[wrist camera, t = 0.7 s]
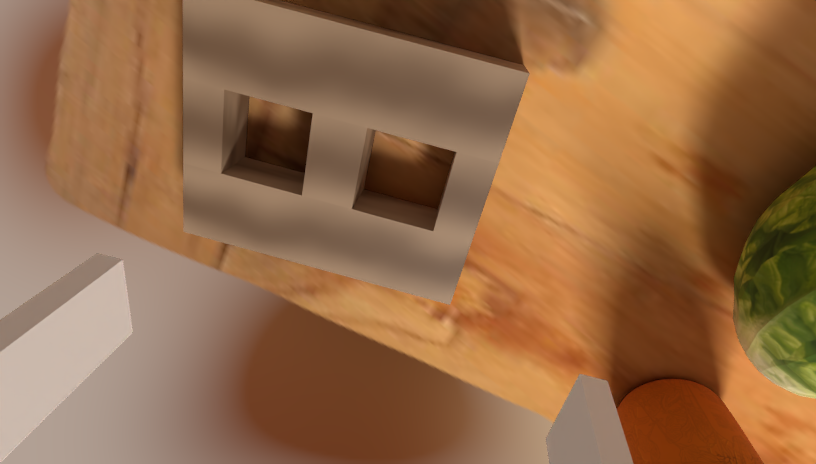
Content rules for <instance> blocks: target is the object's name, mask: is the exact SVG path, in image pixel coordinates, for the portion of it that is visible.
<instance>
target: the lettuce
mask: <svg viewBox="0 0 816 464" xmlns="http://www.w3.org/2000/svg"><path fill="white" fill-rule="evenodd" d="M733 320H734V325H735V329H736V333H737V336H738V339H739V342H740V344H741V346H742V348H743V349H744V351H745V353H746V355H747V357H748V358H749V360H750V361H751V362H752V363H753V365H754V366H755V367H756V368H757V370H758V371H759V372H761V373H762V374H763V375H764V376H765V377H766V378H768V379H769V380H770V381H772V382H773V383H774V384H776V385H778V386H780V387H782V388H784V389H786V390H788V391H790V392H792V393H794V394H797V395H799V396H804V397H810V398H815V399H816V166H815V167H813V168H812V169H811V170H810V171H809V172H808V173H806V174H805V175H804V176H803V177H802V178H800V179H799V180H798V181H797V182H796V183H794V184H793V185H792V186H791V187H790V188H788V189H787V190H786V191H785V192H783V193H782V194H781V195H780V196H779V197H777V198H776V199H775V200H774V201H773V202H772V203H771V205H770V206H769V207H768V208H767V209H766V210H765V212H764V213H763V214H762V215H761V216H760V217H759V218H758V220H757V221H756V223H755V225H754V227H753V229H752V231H751V233H750V235H749V237H748V238H747V240H746V243H745V245H744V248H743V251H742V254H741V257H740V260H739V263H738V266H737V269H736V273H735V276H734V309H733Z"/></svg>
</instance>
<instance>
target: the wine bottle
mask: <svg viewBox="0 0 816 464" xmlns="http://www.w3.org/2000/svg"><path fill="white" fill-rule="evenodd" d="M617 413H618V416H619V419H620V422H621V425H622V429H623V432H624V435H625V438H626V441H627V445H628V448H629V451H630V454H631V457H632V460H633V464H764V463H763V462H762V460H761V459H760V457H759V455H758V454H757V452H756V451H755V449H754V448H753V446H752V444H751V443H750V441H749V440H748V438H747V437H746V435H745V434H744V432H743V430H742V429H741V427H740V426H739V424H738V423H737V421H736V420H735V418H734V417H733V415H732V414H731V412H730V411H729V410H728V408H727V407H726V405H725V404H724V403H723V401H722V400H721V399H720V398H719V397H718V396H717V395H716V394H715V393H714V392H713V391H711V390H710V389H709V388H707V387H705V386H703V385H701V384H698V383H696V382H693V381H689V380H684V379H662V380H656V381H652V382H649V383H646V384H643V385H641V386H639V387H637V388H636V389H634V390H633V391H631V392H630V393H629V394H628V395H627V396H626V397H625V398H624V399H623V400H622V402H621V403H620V405H619V407H618V409H617Z"/></svg>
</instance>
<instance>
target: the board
mask: <svg viewBox="0 0 816 464" xmlns="http://www.w3.org/2000/svg"><path fill="white" fill-rule="evenodd" d="M529 74H530V73H529V72H528V70H527V69H526V68H525V66H524V65H522V64H518V63H514V62H510V61H507V60H503V59H499V58H495V57H492V56H488V55H484V54H480V53H476V52H473V51H469V50H465V49H461V48H458V47H454V46H450V45H446V44H443V43H439V42H435V41H431V40H427V39H424V38H420V37H416V36H412V35H409V34H405V33H401V32H397V31H394V30H390V29H386V28H382V27H379V26H375V25H371V24H367V23H363V22H360V21H356V20H352V19H348V18H345V17H341V16H337V15H333V14H330V13H326V12H322V11H318V10H315V9H311V8H307V7H303V6H299V5H296V4H292V3H288V2H284V1H281V0H183V203H184V232H187V233H190V234H194V235H198V236H201V237H205V238H208V239H212V240H216V241H219V242H223V243H227V244H230V245H234V246H238V247H241V248H245V249H249V250H252V251H256V252H259V253H263V254H267V255H270V256H274V257H278V258H281V259H285V260H289V261H292V262H296V263H300V264H303V265H307V266H310V267H314V268H318V269H321V270H325V271H329V272H332V273H336V274H340V275H343V276H347V277H351V278H354V279H358V280H361V281H365V282H369V283H372V284H376V285H380V286H383V287H387V288H391V289H394V290H398V291H402V292H405V293H409V294H412V295H416V296H420V297H423V298H427V299H431V300H434V301H438V302H442V303H445V304H449V305H450V303H451V301H452V298H453V295H454V292H455V289H456V286H457V283H458V280H459V277H460V274H461V271H462V269H463V266H464V263H465V260H466V257H467V254H468V251H469V248H470V245H471V242H472V239H473V237H474V234H475V231H476V228H477V225H478V222H479V219H480V216H481V213H482V210H483V207H484V205H485V202H486V199H487V196H488V193H489V190H490V187H491V184H492V181H493V178H494V175H495V173H496V170H497V167H498V164H499V161H500V158H501V155H502V152H503V149H504V146H505V143H506V141H507V138H508V135H509V132H510V129H511V126H512V123H513V120H514V117H515V114H516V111H517V108H518V106H519V103H520V100H521V97H522V94H523V91H524V88H525V85H526V82H527V79H528V76H529ZM249 96H250V97H254V98H258V99H262V100H265V101H269V102H273V103H276V104H280V105H284V106H288V107H291V108H295V109H299V110H302V111H306V112H310V113H313V115H312V123H311V130H310V138H309V146H308V153H307V161H306V168H305V173H302V172H299V171H295V170H291V169H288V168H284V167H280V166H277V165H273V164H269V163H265V162H262V161H258V160H254V159H251V158H247V157H245V155H246V140H247V124H248V108H249ZM376 130H377V131H380V132H384V133H388V134H392V135H395V136H399V137H403V138H406V139H410V140H414V141H418V142H421V143H425V144H429V145H432V146H436V147H440V148H444V149H447V150H451V151H454V155H453V158H452V162H451V165H450V169H449V172H448V175H447V179H446V182H445V186H444V189H443V193H442V196H441V200H440V203H439V206H438V209H435V208H431V207H428V206H424V205H420V204H417V203H413V202H409V201H406V200H402V199H398V198H394V197H391V196H387V195H383V194H380V193H376V192H372V191H369V190H365V189H364V186H365V181H366V176H367V171H368V166H369V161H370V156H371V151H372V146H373V141H374V136H375V131H376Z"/></svg>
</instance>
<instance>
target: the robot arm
mask: <svg viewBox="0 0 816 464" xmlns="http://www.w3.org/2000/svg"><path fill="white" fill-rule="evenodd" d="M132 333H133V330H132V323H131V316H130V308H129V301H128V294H127V287H126V279H125V272H124V264H123V259H118V258H115V257H111V256H107V255H102V254H99V253H97V254H95V255H94V256H92V257H91V258H89V259H88V260H87V261H85V262H84V263H82V264H81V265H79V266H78V267H77V268H75V269H73V270H72V271H71V272H69V273H68V274H66V275H65V276H63V277H62V278H60V279H59V280H57V281H56V282H55V283H53V284H52V285H50V286H49V287H47V288H46V289H44V290H43V291H41V292H40V293H39V294H37V295H36V296H34V297H33V298H31V299H30V300H28V301H27V302H25V303H24V304H23V305H21V306H20V307H18V308H17V309H15V310H14V311H12V312H11V313H10V314H8V315H7V316H5V317H4V318H2V319H1V320H0V462H1V461H3V459H5V457H7V456H8V455H9V453H11V452H12V451H13V450H14V449H15V448H16V447H17V446H18V445H19V443H21V442H22V441H23V440H24V439H25V438H26V437H27V436H28V435H29V434H30V433H31V432H32V431H33V430H34V429H35V428H36V427H37V426H38V425H39V424H40V423H41V422H42V421H43V420H44V419H45V418H46V417H47V416H48V415H49V414H50V413H51V412H52V411H53V410H54V409H55V408H56V407H57V406H58V405H59V404H60V403H61V402H63V400H65V399H66V397H68V396H69V395H70V394H71V393H72V392H73V391H74V390H75V389H76V388H77V387H78V386H79V385H80V384H81V383H82V382H83V381H84V380H85V379H86V378H87V377H88V376H89V375H90V374H91V373H92V372H93V371H94V370H95V369H96V368H97V367H98V366H99V365H100V364H101V363H102V362H103V361H104V360H105V359H106V358H107V357H108V356H109V355H110V354H111V353H112V352H113V351H114V350H115V349H116V348H117V347H118V346H119V345H120V344H121V343H123V341H125V340H126V339H127V337H129V336H130V335H131V334H132ZM546 442H547V450H548V456H549V463H550V464H633V460H632V457H631V454H630V451H629V448H628V445H627V441H626V438H625V435H624V432H623V429H622V425H621V422H620V419H619V416H618V413H617V409H616V406H615V403H614V400H613V397H612V394H611V390H610V387H609V384H608V381H606V380H602V379H598V378H594V377H590V376H586V375H582V374H579V376H578V378H577V380H576V382H575V384H574V386H573V388H572V390H571V391H570V393H569V395H568V397H567V399H566V401H565V403H564V405H563V407H562V409H561V410H560V412H559V414H558V416H557V418H556V420H555V422H554V424H553V426H552V427H551V429H550V431H549V433H548V435H547V437H546Z"/></svg>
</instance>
